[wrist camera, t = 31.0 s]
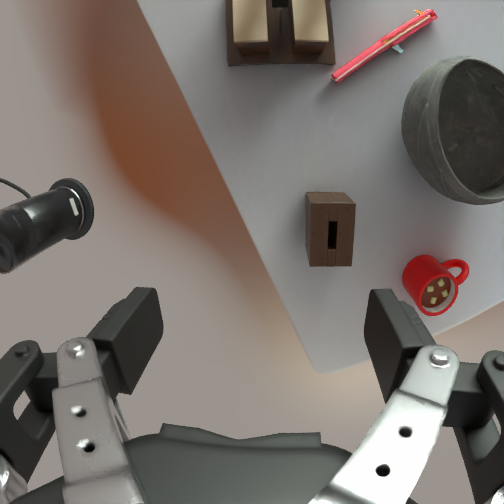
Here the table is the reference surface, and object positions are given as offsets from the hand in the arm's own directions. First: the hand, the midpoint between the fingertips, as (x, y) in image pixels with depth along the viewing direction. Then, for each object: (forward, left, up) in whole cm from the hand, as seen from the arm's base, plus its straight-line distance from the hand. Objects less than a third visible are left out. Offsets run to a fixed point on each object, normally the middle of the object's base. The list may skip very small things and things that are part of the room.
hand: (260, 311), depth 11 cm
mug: (+31, -9, -38) cm, 50 cm away
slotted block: (-4, +24, -38) cm, 45 cm away
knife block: (+9, -5, -38) cm, 39 cm away
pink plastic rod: (+13, +26, -38) cm, 48 cm away
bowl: (+25, +15, -38) cm, 48 cm away
